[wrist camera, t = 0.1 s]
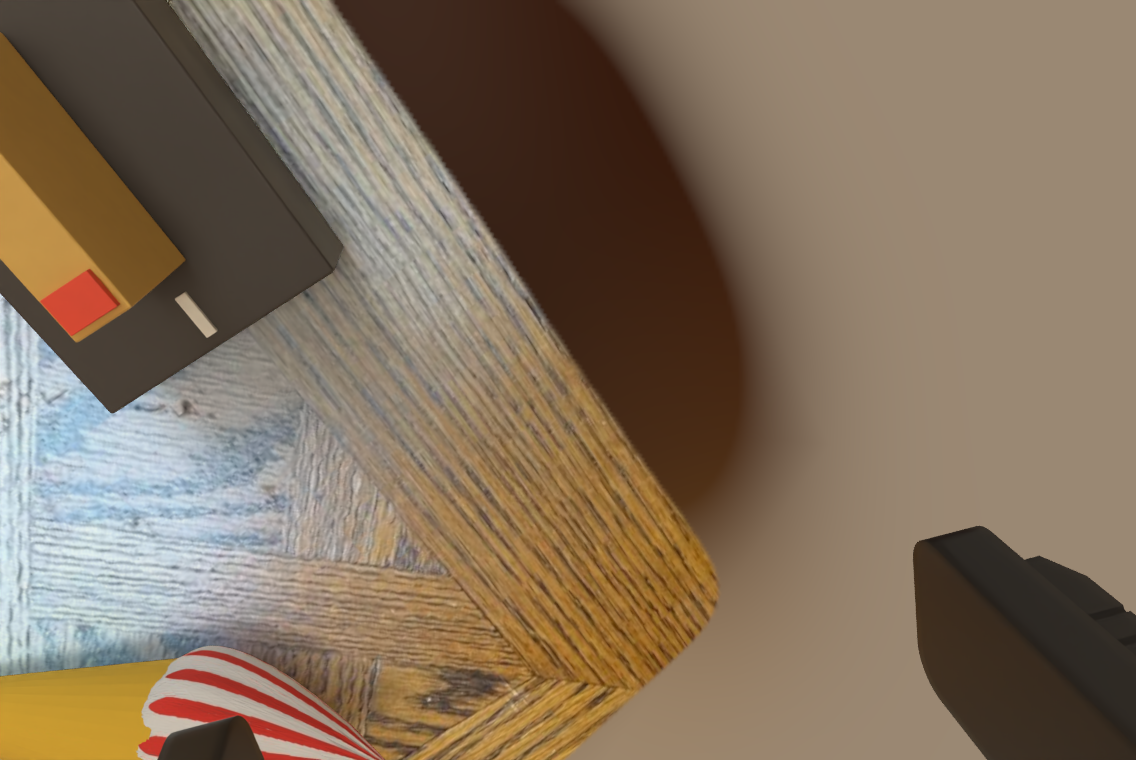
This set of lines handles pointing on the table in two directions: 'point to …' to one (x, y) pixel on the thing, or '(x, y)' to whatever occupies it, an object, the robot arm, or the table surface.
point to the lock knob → (69, 212)
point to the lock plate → (169, 188)
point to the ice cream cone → (168, 710)
